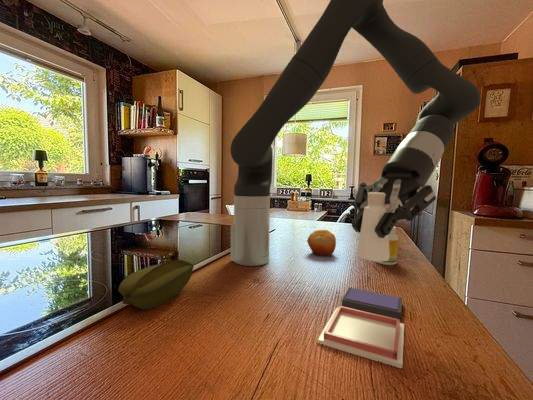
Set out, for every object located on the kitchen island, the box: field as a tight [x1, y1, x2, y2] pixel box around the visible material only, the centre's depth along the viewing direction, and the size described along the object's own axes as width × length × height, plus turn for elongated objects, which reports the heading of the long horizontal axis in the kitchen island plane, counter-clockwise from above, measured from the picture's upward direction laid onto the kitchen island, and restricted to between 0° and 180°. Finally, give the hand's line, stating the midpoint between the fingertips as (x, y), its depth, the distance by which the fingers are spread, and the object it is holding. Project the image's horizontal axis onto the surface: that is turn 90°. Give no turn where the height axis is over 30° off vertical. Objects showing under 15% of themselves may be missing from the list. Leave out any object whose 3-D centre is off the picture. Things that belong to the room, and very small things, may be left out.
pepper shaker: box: [356, 192, 390, 263], centre depth 46 cm, size 5×5×11 cm
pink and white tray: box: [317, 305, 405, 369], centre depth 38 cm, size 10×10×1 cm
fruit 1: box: [117, 259, 194, 310], centre depth 48 cm, size 11×12×7 cm
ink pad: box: [341, 287, 403, 321], centre depth 47 cm, size 9×6×1 cm, turn 62°
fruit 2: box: [306, 229, 337, 256], centre depth 78 cm, size 8×8×8 cm
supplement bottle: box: [376, 225, 399, 266], centre depth 71 cm, size 5×5×10 cm
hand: (366, 231), depth 45 cm, fingers closed on pepper shaker, 4 cm apart
